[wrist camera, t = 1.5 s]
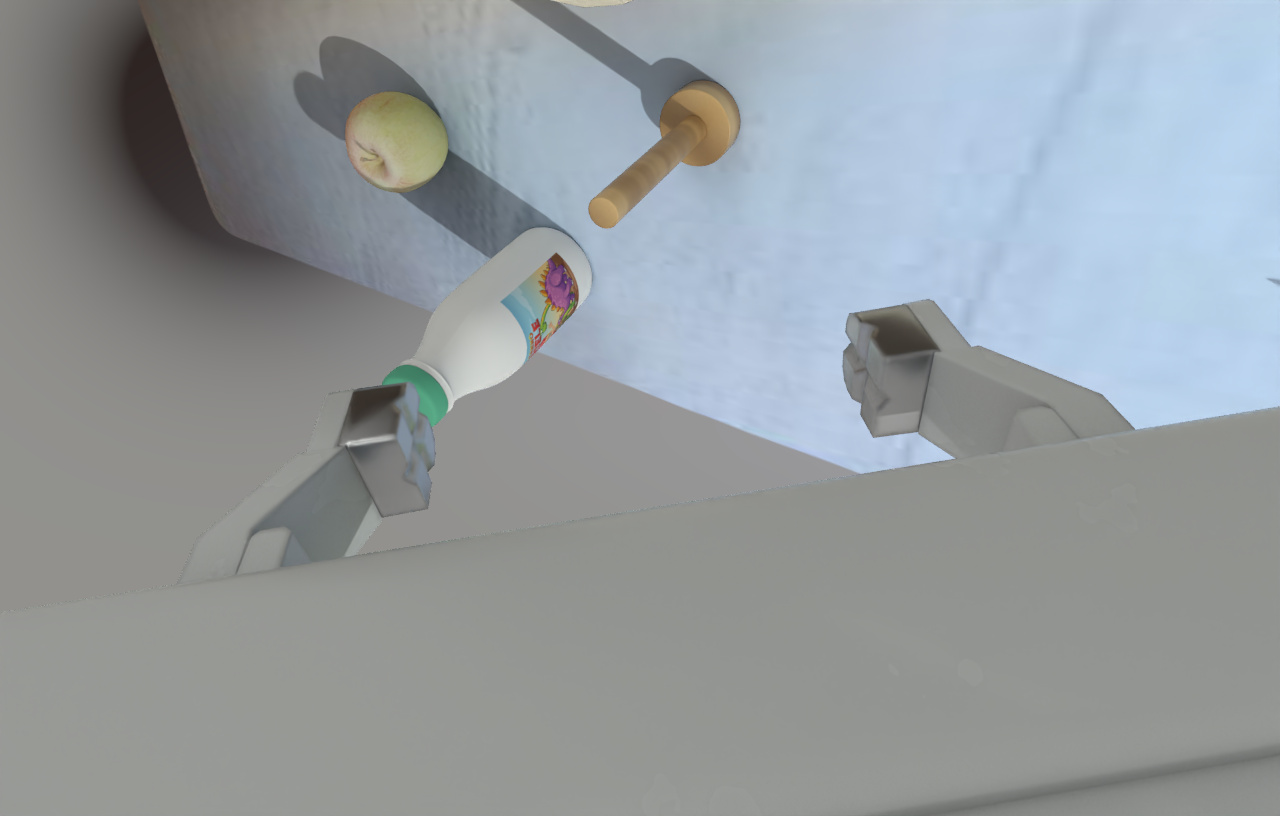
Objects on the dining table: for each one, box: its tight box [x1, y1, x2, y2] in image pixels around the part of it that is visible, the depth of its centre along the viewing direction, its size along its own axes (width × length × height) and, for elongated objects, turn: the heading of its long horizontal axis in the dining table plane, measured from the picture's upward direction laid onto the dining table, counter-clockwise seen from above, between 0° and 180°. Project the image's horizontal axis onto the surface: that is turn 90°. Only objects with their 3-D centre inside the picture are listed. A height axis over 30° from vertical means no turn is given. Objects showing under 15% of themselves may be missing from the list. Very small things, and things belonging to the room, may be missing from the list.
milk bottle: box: [382, 227, 592, 427], centre depth 56 cm, size 8×8×20 cm
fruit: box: [345, 91, 448, 193], centre depth 57 cm, size 8×7×8 cm
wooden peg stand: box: [589, 80, 740, 228], centre depth 44 cm, size 5×5×15 cm
